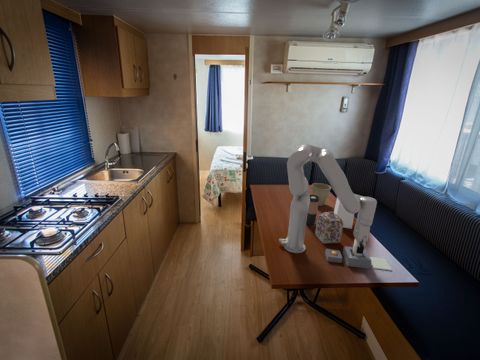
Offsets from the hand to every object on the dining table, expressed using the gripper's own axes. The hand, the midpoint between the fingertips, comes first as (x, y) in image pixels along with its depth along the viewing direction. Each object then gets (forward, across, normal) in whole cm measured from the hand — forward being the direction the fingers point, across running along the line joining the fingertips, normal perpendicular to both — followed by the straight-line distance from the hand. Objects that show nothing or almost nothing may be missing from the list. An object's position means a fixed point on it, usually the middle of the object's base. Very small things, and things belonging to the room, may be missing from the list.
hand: (357, 249), depth 142 cm
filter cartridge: (+7, 0, 0) cm, 7 cm away
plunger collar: (+7, 0, -12) cm, 14 cm away
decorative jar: (+7, -21, -12) cm, 25 cm away
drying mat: (+7, 0, +12) cm, 14 cm away
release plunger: (+7, 0, -12) cm, 14 cm away
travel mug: (+7, -40, -21) cm, 46 cm away
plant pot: (+7, -77, -10) cm, 78 cm away
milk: (+7, -45, +2) cm, 46 cm away
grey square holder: (+7, 0, 0) cm, 7 cm away
